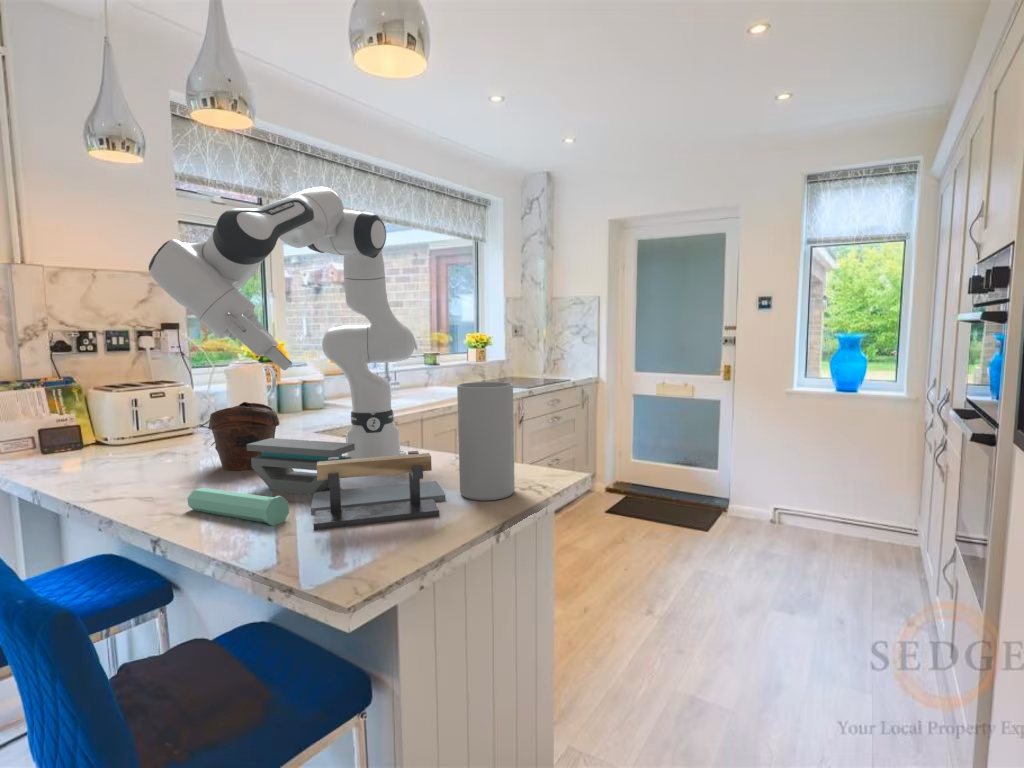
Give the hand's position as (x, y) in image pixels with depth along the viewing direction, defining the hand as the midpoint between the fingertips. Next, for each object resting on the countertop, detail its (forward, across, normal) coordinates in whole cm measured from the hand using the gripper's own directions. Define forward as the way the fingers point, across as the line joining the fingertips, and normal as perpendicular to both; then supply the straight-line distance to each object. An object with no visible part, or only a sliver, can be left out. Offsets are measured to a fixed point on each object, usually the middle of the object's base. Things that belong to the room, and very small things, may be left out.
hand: (289, 367), depth 109 cm
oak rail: (+26, -3, +4) cm, 27 cm away
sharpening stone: (+22, +26, +20) cm, 39 cm away
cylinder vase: (+50, +4, -8) cm, 51 cm away
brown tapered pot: (+11, +58, +30) cm, 66 cm away
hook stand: (+33, -2, +10) cm, 34 cm away
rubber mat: (+34, +10, +9) cm, 36 cm away
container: (+14, +10, +30) cm, 35 cm away
